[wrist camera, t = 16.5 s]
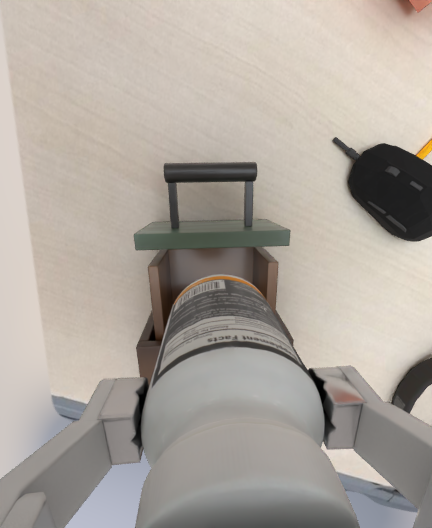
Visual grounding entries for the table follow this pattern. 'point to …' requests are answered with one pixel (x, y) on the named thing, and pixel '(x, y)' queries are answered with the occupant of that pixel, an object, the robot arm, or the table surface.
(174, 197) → the drawer
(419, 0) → the pink cube teapot
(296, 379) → the pill bottle
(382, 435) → the robot arm
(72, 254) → the table surface
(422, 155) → the pencil
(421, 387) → the headphones
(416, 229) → the gaming mouse
